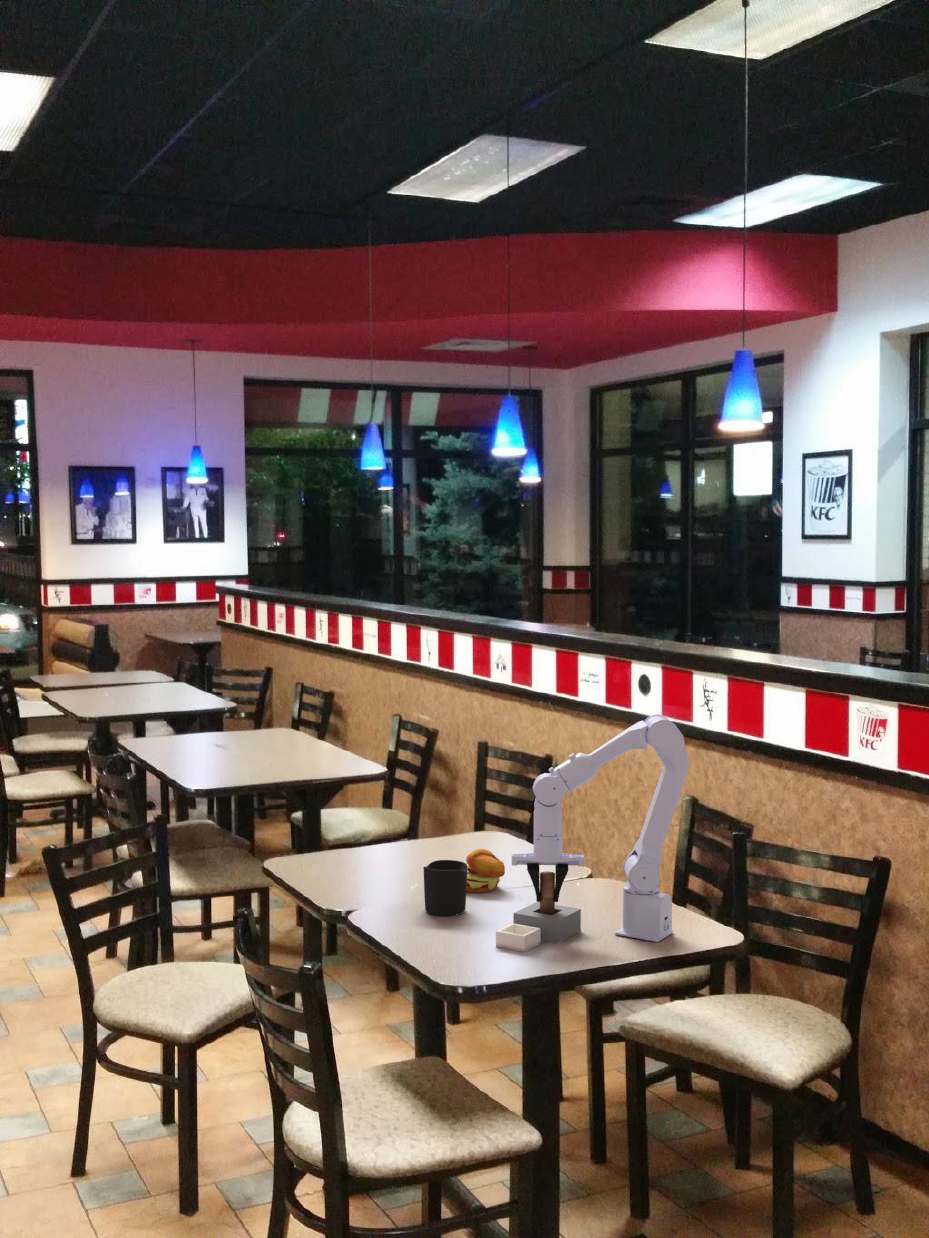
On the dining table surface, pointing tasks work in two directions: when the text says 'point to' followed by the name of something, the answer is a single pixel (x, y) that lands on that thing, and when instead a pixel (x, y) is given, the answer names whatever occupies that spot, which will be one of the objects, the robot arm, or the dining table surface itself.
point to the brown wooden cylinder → (547, 893)
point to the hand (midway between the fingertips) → (547, 900)
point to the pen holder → (445, 887)
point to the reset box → (551, 921)
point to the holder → (518, 937)
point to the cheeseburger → (483, 871)
